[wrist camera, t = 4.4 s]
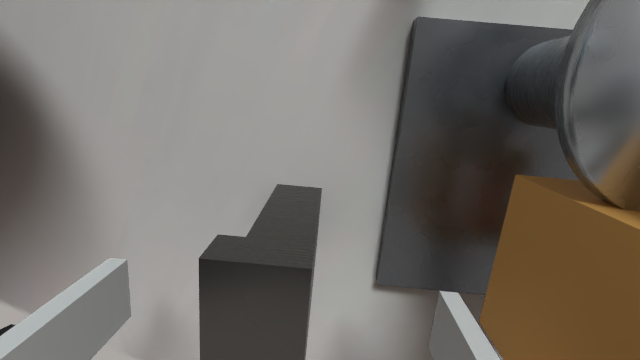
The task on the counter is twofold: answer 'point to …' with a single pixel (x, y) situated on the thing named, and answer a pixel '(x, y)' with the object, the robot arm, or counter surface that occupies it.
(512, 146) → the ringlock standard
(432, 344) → the robot arm
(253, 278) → the wedge
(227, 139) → the counter surface
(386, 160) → the counter surface
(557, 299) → the bracket head
